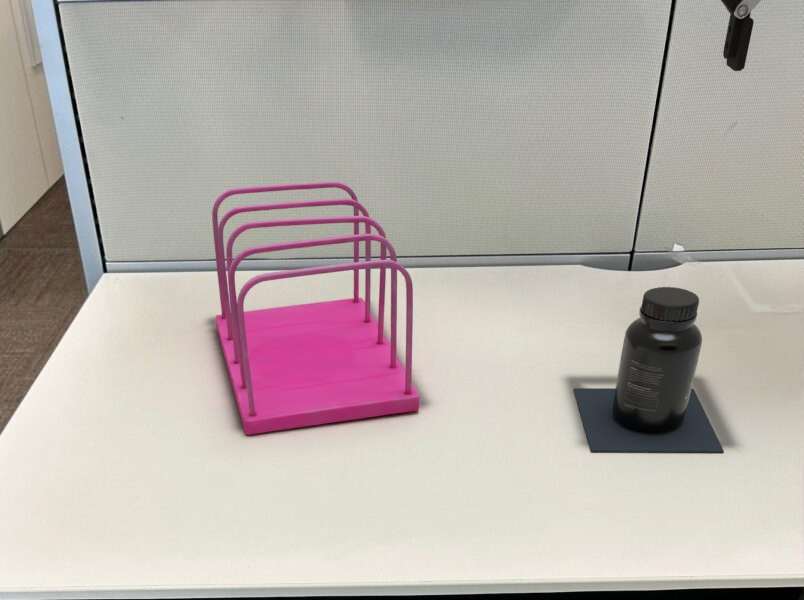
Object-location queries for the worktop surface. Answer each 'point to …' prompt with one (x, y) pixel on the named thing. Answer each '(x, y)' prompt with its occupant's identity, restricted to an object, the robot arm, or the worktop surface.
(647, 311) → the supplement bottle
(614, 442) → the mat
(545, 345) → the worktop surface
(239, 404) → the file sorter
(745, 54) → the robot arm
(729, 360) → the worktop surface
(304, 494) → the worktop surface
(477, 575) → the worktop surface
